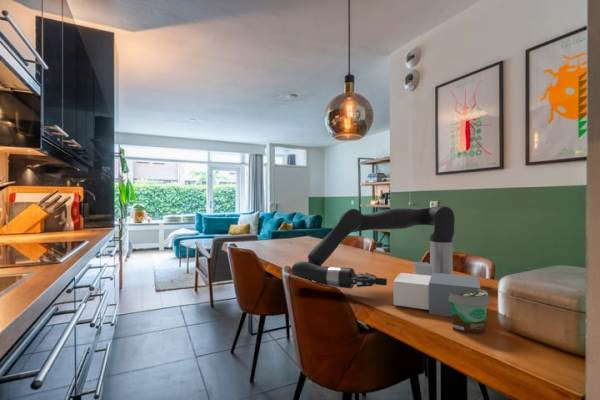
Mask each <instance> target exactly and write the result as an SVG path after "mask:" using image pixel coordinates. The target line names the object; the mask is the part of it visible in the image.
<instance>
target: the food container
mask: <svg viewBox="0 0 600 400" xmlns="http://www.w3.org/2000/svg"><path fill="white" fill-rule="evenodd" d="M448 301H450V305H451V316H452V317H451V325H452V326H451V328H452V331H456V332H458V333H461V334H466V335H467V334H468V335H482V334H484V333H486V328H487V327H486V326H487V311H488V305H489V304H490V303H491V299H490V296H489V294H488V292H487V291H486V290H484V289H478V292H475V293H463V294H460V295H455V294H451V293H450V296H449V300H448Z"/></svg>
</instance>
